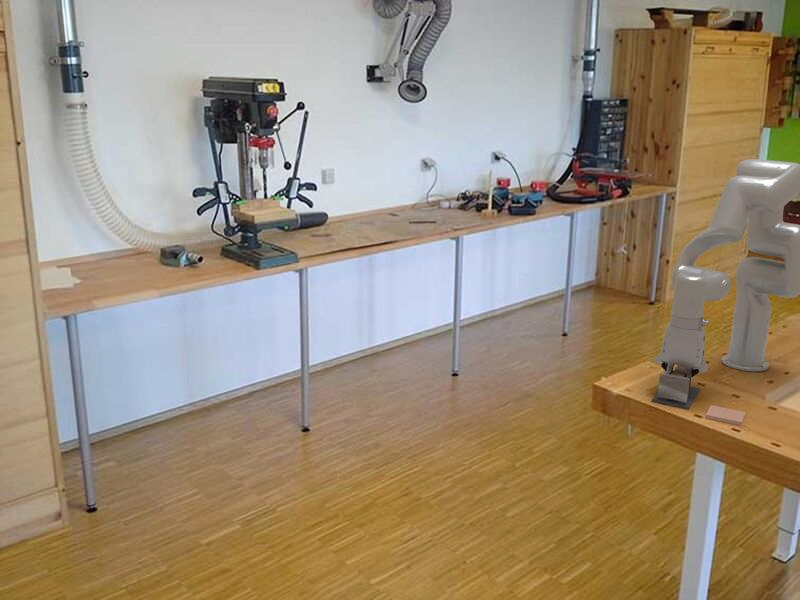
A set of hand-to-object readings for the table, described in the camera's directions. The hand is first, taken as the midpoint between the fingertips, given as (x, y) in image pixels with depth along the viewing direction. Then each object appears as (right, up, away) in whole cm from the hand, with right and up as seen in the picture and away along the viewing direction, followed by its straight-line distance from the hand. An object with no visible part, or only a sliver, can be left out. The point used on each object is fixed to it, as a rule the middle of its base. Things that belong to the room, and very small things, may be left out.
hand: (677, 389), depth 203 cm
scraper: (0, 0, 0) cm, 0 cm away
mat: (0, -2, 0) cm, 2 cm away
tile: (+9, -4, -10) cm, 14 cm away
